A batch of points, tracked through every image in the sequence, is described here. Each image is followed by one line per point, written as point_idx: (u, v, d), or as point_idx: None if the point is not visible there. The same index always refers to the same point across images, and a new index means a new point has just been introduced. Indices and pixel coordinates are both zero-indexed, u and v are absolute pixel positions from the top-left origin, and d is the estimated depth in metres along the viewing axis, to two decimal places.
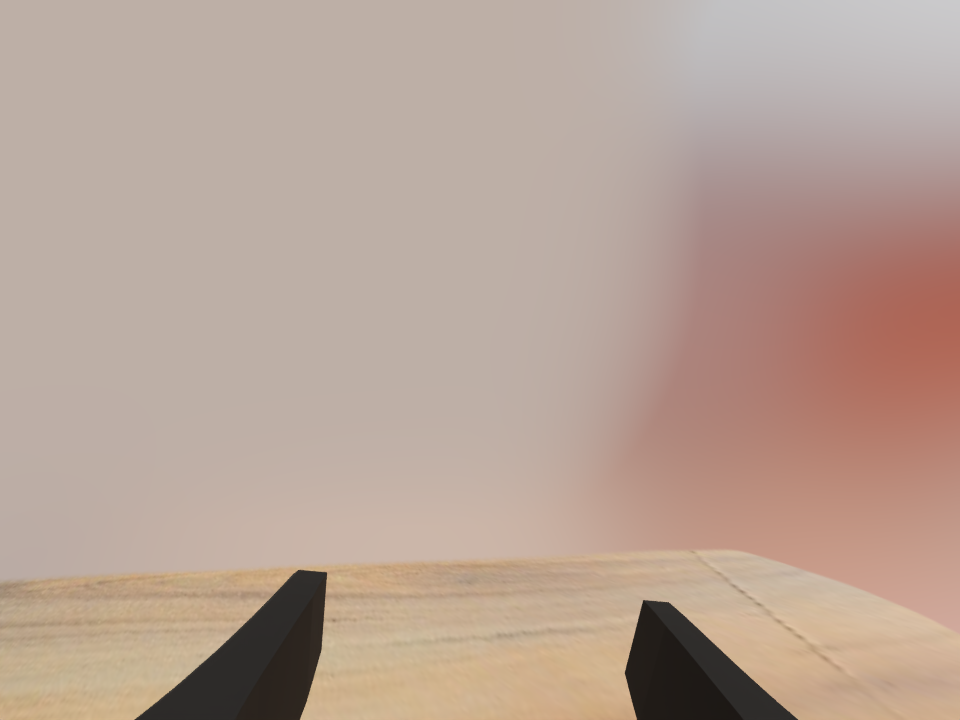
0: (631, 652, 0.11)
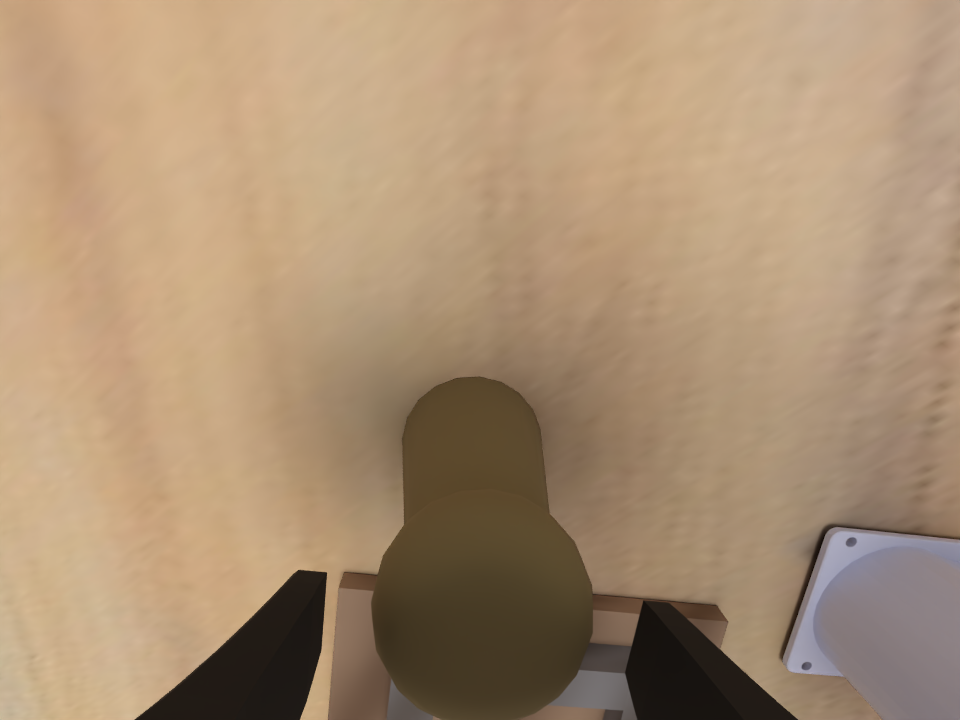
0: (631, 652, 0.11)
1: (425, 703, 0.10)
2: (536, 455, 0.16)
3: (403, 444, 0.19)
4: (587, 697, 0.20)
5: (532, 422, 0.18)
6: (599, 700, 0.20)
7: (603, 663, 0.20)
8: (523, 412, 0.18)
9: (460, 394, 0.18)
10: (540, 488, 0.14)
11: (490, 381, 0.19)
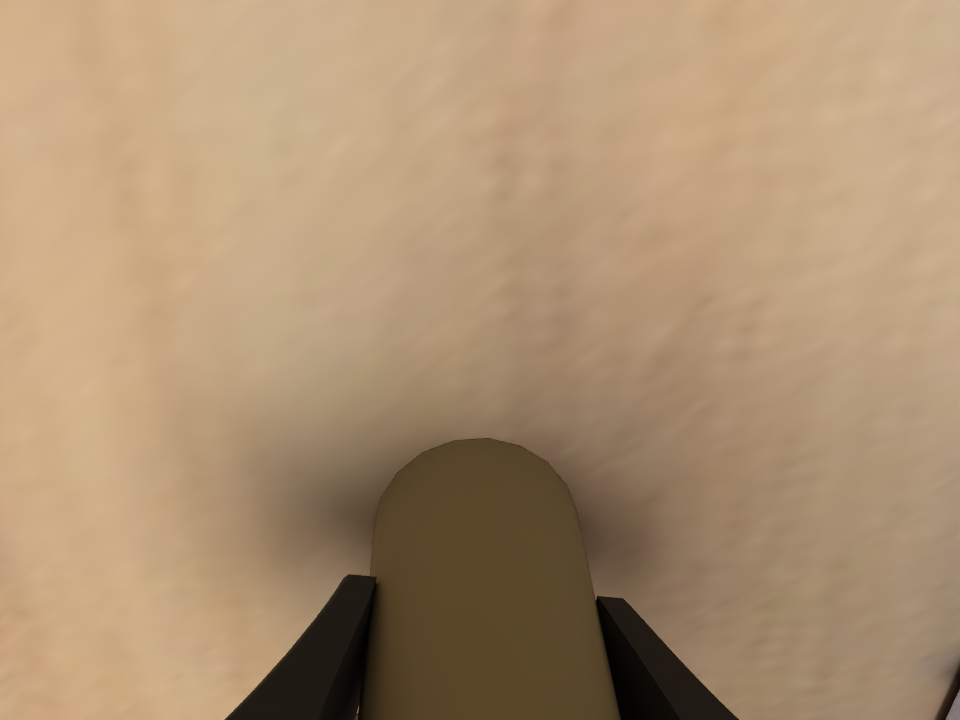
0: None
1: None
2: (587, 593, 0.09)
3: (373, 543, 0.12)
4: None
5: (570, 514, 0.12)
6: None
7: None
8: (557, 500, 0.12)
9: (459, 474, 0.11)
10: (607, 688, 0.08)
11: (504, 446, 0.13)
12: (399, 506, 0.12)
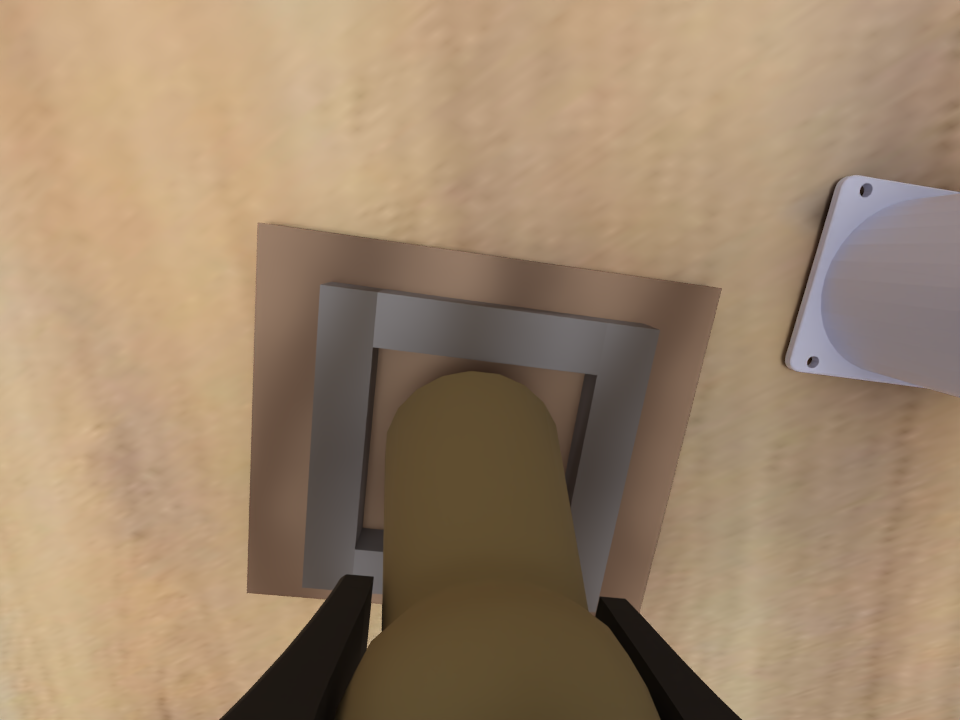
0: None
1: None
2: (554, 479, 0.12)
3: None
4: (554, 354, 0.17)
5: (545, 424, 0.14)
6: (568, 359, 0.17)
7: (573, 316, 0.17)
8: (532, 413, 0.14)
9: (446, 401, 0.14)
10: (565, 539, 0.10)
11: (485, 375, 0.15)
12: (400, 433, 0.14)
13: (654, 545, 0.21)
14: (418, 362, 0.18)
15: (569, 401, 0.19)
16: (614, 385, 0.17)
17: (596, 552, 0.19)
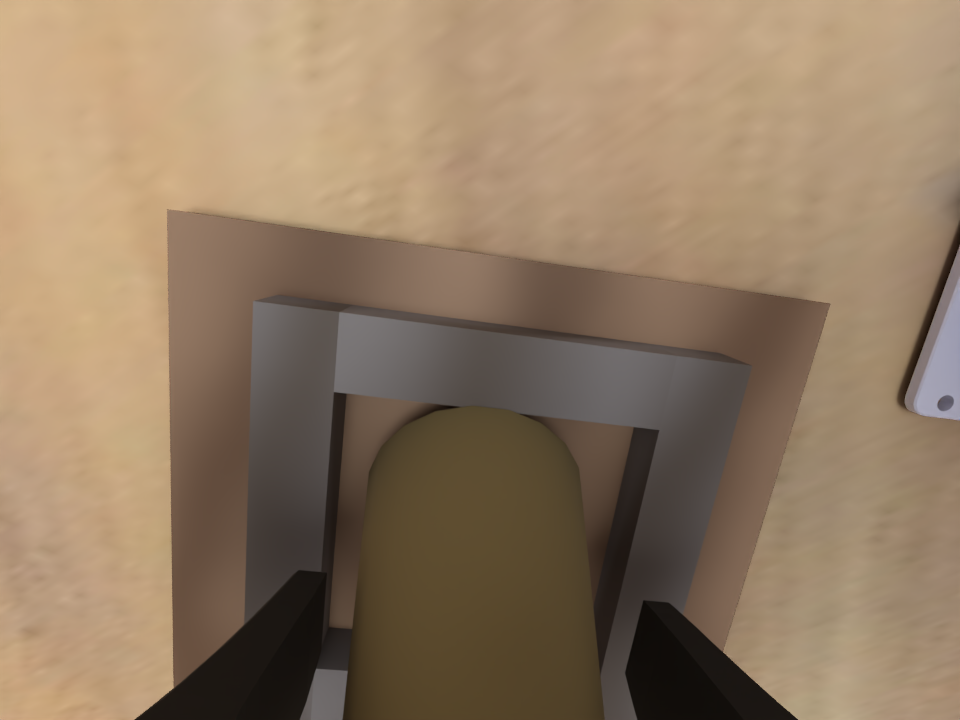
0: (631, 652, 0.11)
1: None
2: (576, 590, 0.09)
3: None
4: (598, 401, 0.12)
5: (565, 484, 0.11)
6: (619, 408, 0.12)
7: (625, 346, 0.12)
8: (549, 474, 0.11)
9: (438, 458, 0.10)
10: (588, 715, 0.07)
11: (490, 413, 0.11)
12: (379, 493, 0.11)
13: (722, 645, 0.16)
14: (403, 407, 0.13)
15: (612, 459, 0.14)
16: (683, 444, 0.12)
17: None
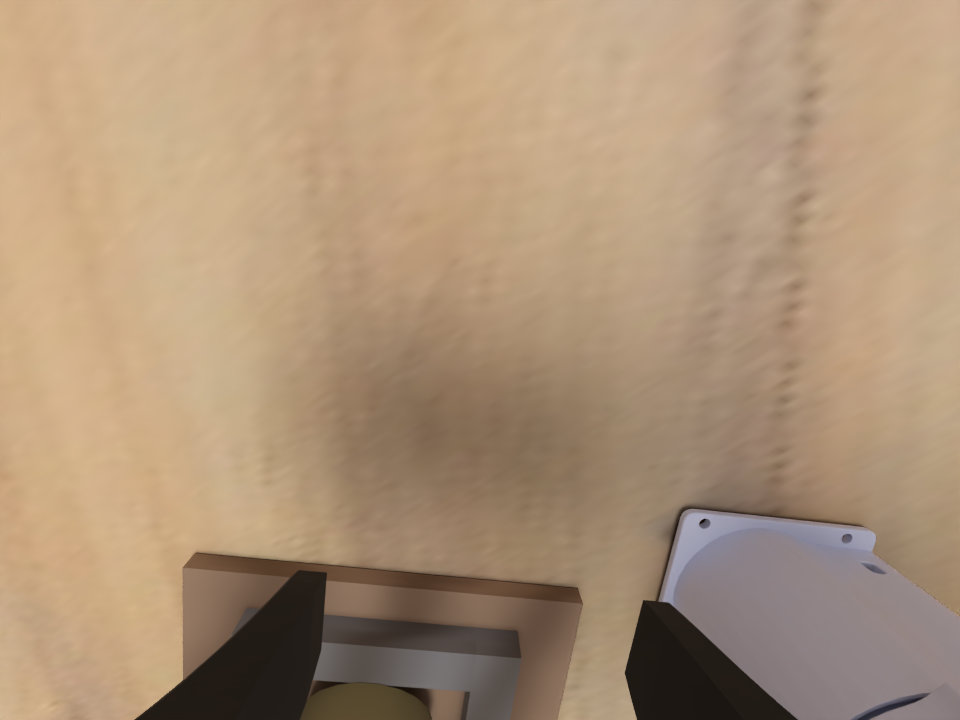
0: (631, 652, 0.11)
1: None
2: None
3: None
4: (432, 678, 0.20)
5: None
6: (444, 681, 0.20)
7: (449, 644, 0.20)
8: None
9: None
10: None
11: (368, 689, 0.20)
12: None
13: None
14: None
15: None
16: (485, 698, 0.21)
17: None
